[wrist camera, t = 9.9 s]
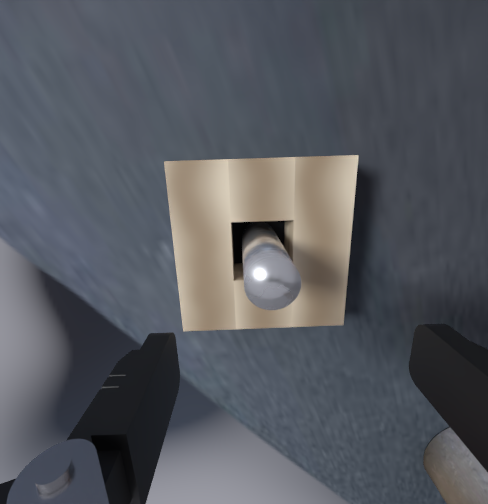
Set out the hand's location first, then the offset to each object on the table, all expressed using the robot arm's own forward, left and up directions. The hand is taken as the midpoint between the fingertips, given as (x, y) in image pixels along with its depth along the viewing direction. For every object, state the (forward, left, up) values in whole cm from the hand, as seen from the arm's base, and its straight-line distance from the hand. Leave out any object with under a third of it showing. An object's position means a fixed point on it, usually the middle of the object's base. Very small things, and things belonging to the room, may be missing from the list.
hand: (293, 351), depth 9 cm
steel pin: (0, 0, -15) cm, 15 cm away
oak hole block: (0, 0, -15) cm, 15 cm away
